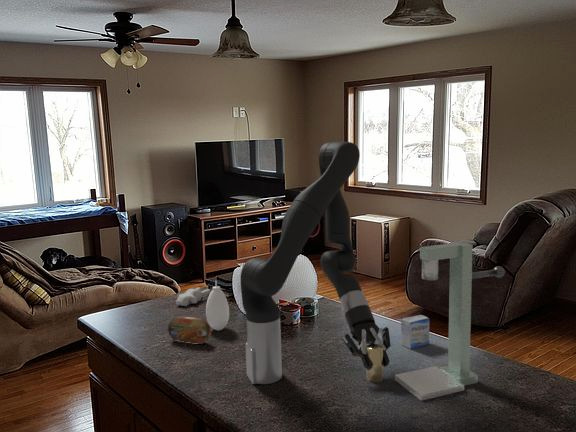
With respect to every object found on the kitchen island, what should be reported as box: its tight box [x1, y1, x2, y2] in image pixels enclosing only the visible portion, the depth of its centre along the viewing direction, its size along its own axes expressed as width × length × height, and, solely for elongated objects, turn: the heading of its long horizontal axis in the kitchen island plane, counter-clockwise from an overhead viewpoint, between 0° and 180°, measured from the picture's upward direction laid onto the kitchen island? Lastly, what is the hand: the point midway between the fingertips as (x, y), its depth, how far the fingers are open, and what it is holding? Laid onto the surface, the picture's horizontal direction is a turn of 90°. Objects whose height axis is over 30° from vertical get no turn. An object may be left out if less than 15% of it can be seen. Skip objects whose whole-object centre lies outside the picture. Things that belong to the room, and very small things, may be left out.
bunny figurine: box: [175, 287, 212, 307], centre depth 211 cm, size 10×5×15 cm
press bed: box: [394, 241, 506, 401], centre depth 136 cm, size 30×12×37 cm, turn 110°
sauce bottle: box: [205, 280, 230, 331], centre depth 178 cm, size 8×8×18 cm
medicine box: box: [400, 314, 430, 350], centre depth 161 cm, size 8×4×9 cm, turn 117°
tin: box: [167, 315, 211, 345], centre depth 169 cm, size 15×3×8 cm, turn 68°
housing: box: [365, 344, 384, 383], centre depth 139 cm, size 4×4×9 cm
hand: (378, 366), depth 138 cm, fingers closed on housing, 4 cm apart
